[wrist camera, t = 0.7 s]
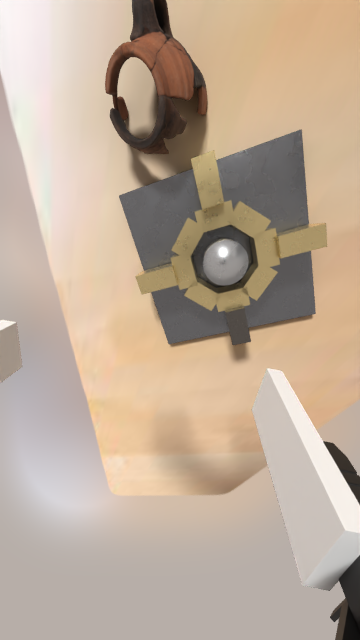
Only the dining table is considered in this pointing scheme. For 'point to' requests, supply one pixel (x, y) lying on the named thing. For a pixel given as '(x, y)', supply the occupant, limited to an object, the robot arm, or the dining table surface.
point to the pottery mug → (156, 75)
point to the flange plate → (227, 237)
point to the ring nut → (263, 247)
